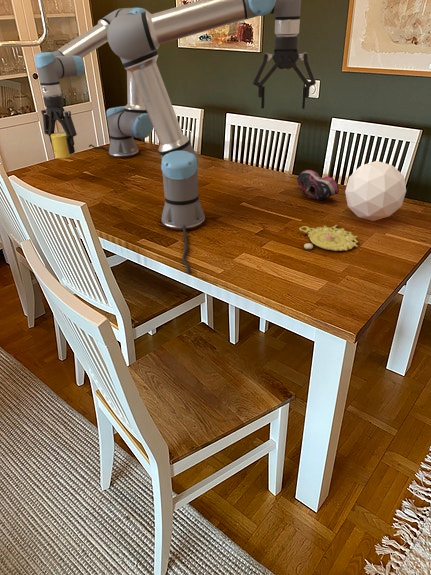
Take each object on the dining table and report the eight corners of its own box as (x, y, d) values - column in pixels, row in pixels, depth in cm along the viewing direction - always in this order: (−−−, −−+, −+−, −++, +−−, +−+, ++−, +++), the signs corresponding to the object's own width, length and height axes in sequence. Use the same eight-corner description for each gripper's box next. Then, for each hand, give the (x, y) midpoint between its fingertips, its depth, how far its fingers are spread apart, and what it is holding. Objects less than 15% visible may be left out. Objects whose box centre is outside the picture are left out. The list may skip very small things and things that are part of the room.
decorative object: (343, 255, 128) (285, 234, 139) (342, 262, 130) (284, 241, 140) (372, 230, 142) (317, 213, 152) (371, 237, 143) (316, 219, 153)
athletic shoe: (306, 169, 182) (282, 176, 178) (340, 163, 162) (313, 171, 158) (311, 196, 184) (288, 204, 181) (345, 193, 165) (320, 202, 161)
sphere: (378, 240, 155) (398, 211, 136) (328, 211, 159) (341, 179, 141) (404, 201, 160) (427, 168, 141) (355, 174, 164) (371, 139, 145)
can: (73, 151, 197) (69, 131, 192) (75, 156, 190) (70, 135, 185) (55, 154, 195) (50, 132, 190) (55, 158, 188) (50, 137, 183)
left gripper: (26, 96, 180) (39, 152, 193) (66, 98, 173) (77, 156, 185) (39, 93, 186) (51, 147, 198) (78, 95, 179) (89, 151, 191)
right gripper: (327, 34, 139) (320, 105, 150) (248, 35, 143) (247, 105, 154) (328, 35, 133) (320, 110, 144) (245, 37, 137) (244, 109, 148)
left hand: (64, 152), depth 192 cm, fingers closed on can, 8 cm apart
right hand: (282, 107), depth 149 cm, fingers open, 13 cm apart
